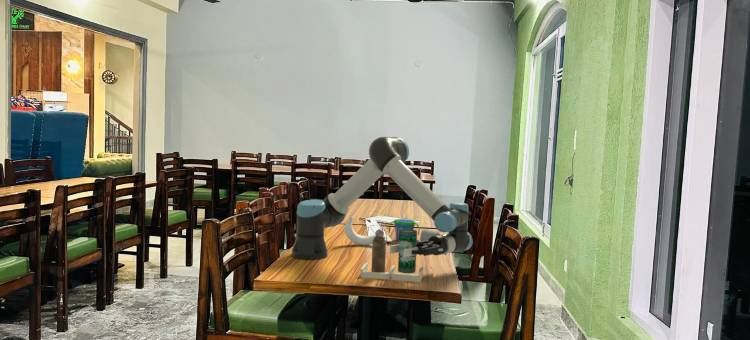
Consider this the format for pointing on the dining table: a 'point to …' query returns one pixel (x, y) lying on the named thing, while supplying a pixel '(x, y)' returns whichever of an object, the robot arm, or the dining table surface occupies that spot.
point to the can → (407, 241)
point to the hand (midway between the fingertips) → (397, 251)
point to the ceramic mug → (427, 234)
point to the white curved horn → (355, 237)
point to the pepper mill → (378, 252)
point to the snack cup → (403, 226)
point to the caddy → (391, 274)
